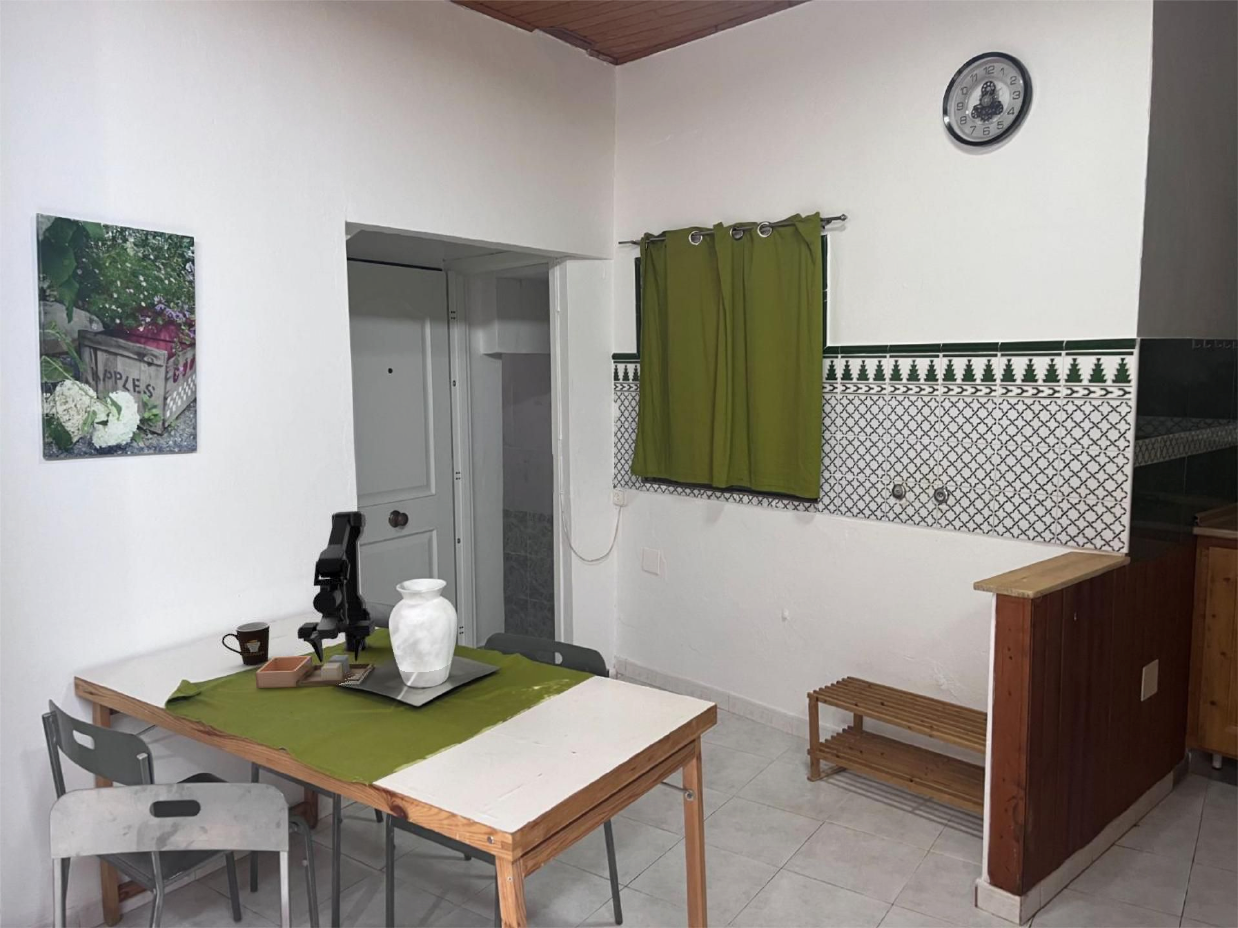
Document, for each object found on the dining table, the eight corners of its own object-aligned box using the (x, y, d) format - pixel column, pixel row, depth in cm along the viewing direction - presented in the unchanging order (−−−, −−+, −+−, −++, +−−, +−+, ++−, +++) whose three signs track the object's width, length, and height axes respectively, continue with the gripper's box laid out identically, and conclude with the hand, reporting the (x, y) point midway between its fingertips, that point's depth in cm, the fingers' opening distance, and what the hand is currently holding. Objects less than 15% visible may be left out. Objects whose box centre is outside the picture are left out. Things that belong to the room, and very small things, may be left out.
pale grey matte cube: (334, 669, 237) (333, 655, 236) (349, 669, 237) (348, 654, 236) (329, 675, 233) (328, 660, 232) (345, 674, 233) (343, 659, 232)
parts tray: (314, 670, 239) (313, 664, 238) (374, 669, 238) (373, 662, 238) (296, 688, 226) (295, 681, 225) (359, 686, 225) (359, 679, 225)
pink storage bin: (275, 673, 238) (273, 656, 237) (312, 672, 238) (311, 655, 237) (256, 689, 226) (255, 672, 225) (296, 688, 226) (294, 671, 225)
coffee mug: (277, 656, 252) (275, 621, 251) (262, 666, 243) (259, 630, 242) (238, 656, 253) (235, 621, 252) (222, 666, 245) (219, 631, 243)
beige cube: (327, 677, 231) (325, 662, 230) (342, 677, 231) (341, 662, 230) (321, 683, 227) (320, 668, 227) (337, 682, 227) (336, 667, 226)
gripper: (287, 613, 225) (292, 673, 227) (361, 610, 225) (365, 670, 227) (303, 601, 236) (307, 658, 238) (373, 598, 236) (377, 656, 238)
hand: (339, 661), depth 235 cm, fingers open, 9 cm apart
